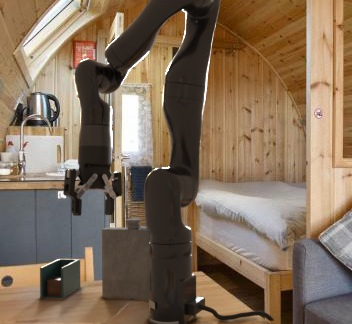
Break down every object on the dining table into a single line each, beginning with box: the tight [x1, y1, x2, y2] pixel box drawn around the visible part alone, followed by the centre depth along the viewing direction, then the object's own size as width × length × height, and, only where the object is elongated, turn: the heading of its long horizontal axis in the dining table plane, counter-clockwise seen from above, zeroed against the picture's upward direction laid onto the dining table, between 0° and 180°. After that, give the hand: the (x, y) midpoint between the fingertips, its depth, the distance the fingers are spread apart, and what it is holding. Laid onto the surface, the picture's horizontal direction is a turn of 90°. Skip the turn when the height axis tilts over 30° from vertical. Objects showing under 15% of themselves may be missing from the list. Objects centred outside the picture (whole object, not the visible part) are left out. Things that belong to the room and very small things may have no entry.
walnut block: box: [47, 276, 61, 296], centre depth 119 cm, size 4×4×4 cm
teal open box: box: [39, 258, 81, 299], centre depth 120 cm, size 10×6×8 cm, turn 177°
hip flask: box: [101, 217, 150, 302], centre depth 116 cm, size 16×4×20 cm, turn 81°
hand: (93, 215), depth 107 cm, fingers open, 8 cm apart
